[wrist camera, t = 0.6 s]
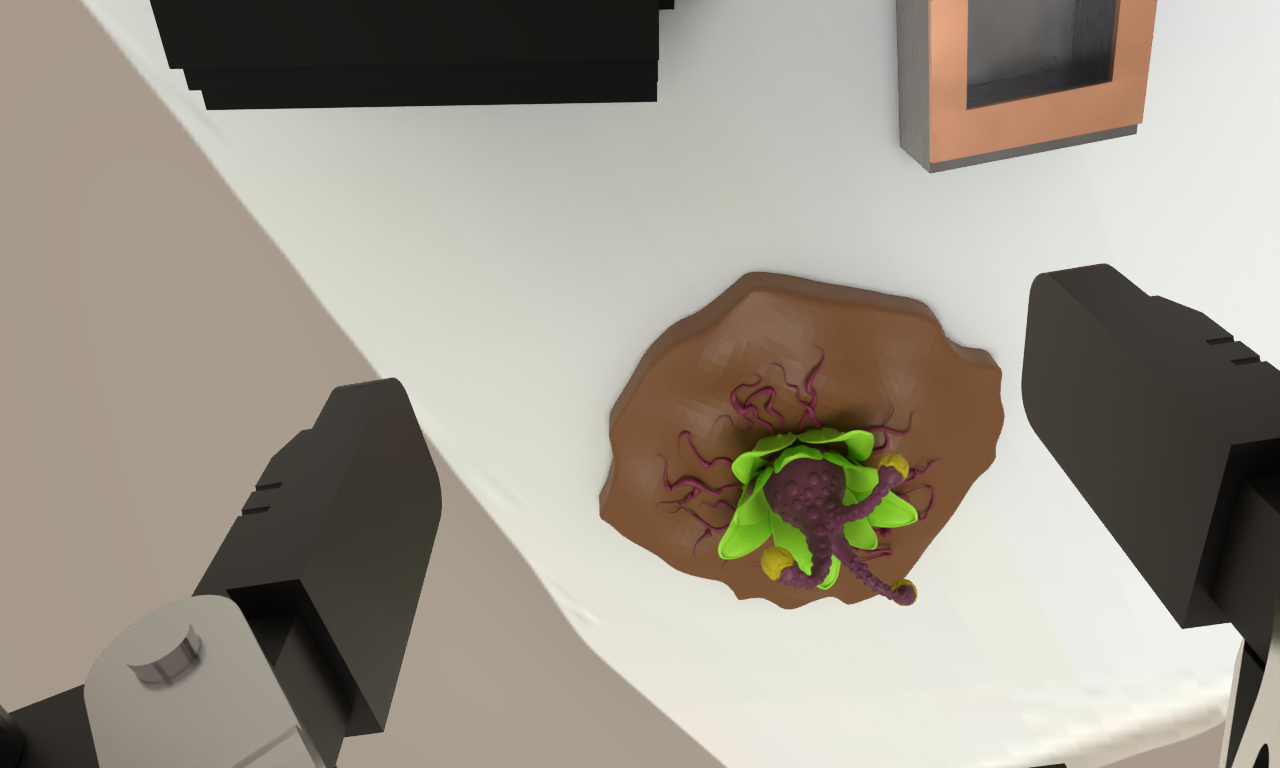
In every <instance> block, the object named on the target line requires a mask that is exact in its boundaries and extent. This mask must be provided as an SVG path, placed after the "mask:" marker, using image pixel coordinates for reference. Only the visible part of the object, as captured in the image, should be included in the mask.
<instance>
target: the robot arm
mask: <svg viewBox="0 0 1280 768" xmlns="http://www.w3.org/2000/svg"><path fill="white" fill-rule="evenodd" d="M1233 337H1234V336H1233V335H1231V334H1230V333H1229V332H1227V331H1226V330H1225V329H1223V328H1222V327H1221V326H1219V325H1218V324H1217V323H1215V322H1214V321H1213V320H1211V319H1210V318H1209V317H1207V316H1206V315H1205V314H1203V313H1202V312H1199V311H1197V310H1194V309H1192V308H1189V307H1186V306H1184V305H1181V304H1179V303H1176V302H1173V301H1171V300H1168V299H1166V298H1163V297H1160V296H1158V295H1157V296H1151V297H1150V296H1148V295H1147V294H1146V293H1145V292H1143V291H1142V290H1141V289H1140V288H1138V287H1137V286H1136V285H1135V284H1133V283H1132V282H1131V281H1130V280H1128V279H1127V278H1126V277H1125V276H1123V275H1122V274H1121V273H1120V272H1118V271H1117V270H1116V269H1115V268H1113V267H1112V266H1110V265H1108V264H1096V265H1090V266H1084V267H1078V268H1072V269H1066V270H1059V271H1053V272H1047V273H1041V274H1039V275H1038V276H1037V277H1036V278H1035V279H1034V281H1033V283H1032V285H1031V289H1030V295H1029V305H1028V316H1027V327H1026V338H1025V348H1024V359H1023V370H1022V382H1021V388H1022V399H1023V404H1024V408H1025V412H1026V415H1027V418H1028V420H1029V423H1030V425H1031V427H1032V429H1033V430H1034V432H1035V433H1036V434H1037V436H1038V437H1039V438H1040V440H1041V441H1042V442H1043V444H1044V445H1045V446H1046V448H1047V449H1048V450H1049V452H1050V453H1051V454H1052V456H1053V457H1054V458H1055V460H1056V461H1057V462H1058V464H1059V465H1060V466H1061V468H1062V469H1063V470H1064V472H1065V473H1066V474H1067V476H1068V477H1069V478H1070V480H1071V481H1072V482H1073V484H1074V485H1075V487H1076V488H1077V489H1078V491H1079V492H1080V493H1081V495H1082V496H1083V497H1084V499H1085V500H1086V501H1087V503H1088V504H1089V505H1090V507H1091V508H1092V509H1093V511H1094V512H1095V513H1096V515H1097V516H1098V517H1099V519H1100V520H1101V521H1102V523H1103V524H1104V525H1105V527H1106V528H1107V529H1108V531H1109V532H1110V533H1111V535H1112V536H1113V537H1114V539H1115V540H1116V541H1117V543H1118V544H1119V545H1120V547H1121V548H1122V549H1123V551H1124V552H1125V553H1126V555H1127V556H1128V557H1129V559H1130V560H1131V561H1132V563H1133V564H1134V565H1135V567H1136V568H1137V569H1138V571H1139V572H1140V573H1141V575H1142V576H1143V577H1144V579H1145V580H1146V581H1147V583H1148V584H1149V585H1150V587H1151V588H1152V589H1153V591H1154V592H1155V593H1156V595H1157V596H1158V597H1159V599H1160V600H1161V601H1162V603H1163V604H1164V606H1165V607H1166V608H1167V610H1168V611H1169V612H1170V614H1171V615H1172V616H1173V618H1174V619H1175V620H1176V622H1177V623H1178V624H1179V626H1180V627H1181V628H1182V629H1185V628H1193V627H1200V626H1208V625H1215V624H1223V623H1230V622H1231V623H1232V624H1233V626H1234V627H1235V628H1236V629H1237V630H1238V632H1239V633H1240V634H1241V635H1242V637H1243V639H1242V642H1241V645H1240V648H1239V651H1238V655H1237V658H1236V661H1235V667H1234V674H1233V680H1232V687H1231V693H1230V699H1229V706H1228V712H1227V718H1226V725H1225V731H1224V738H1223V744H1222V750H1221V757H1220V763H1219V768H1280V371H1279V370H1278V369H1276V368H1275V367H1274V366H1272V365H1271V364H1270V363H1268V362H1267V361H1264V362H1261V361H1260V356H1259V355H1258V354H1257V353H1255V352H1254V351H1253V350H1251V349H1250V348H1249V347H1247V346H1246V345H1245V344H1243V343H1242V342H1241V341H1236V342H1235V341H1234V339H1233ZM255 487H256V492H252V493H251V495H250V497H249V498H248V500H247V502H246V503H245V505H244V507H243V508H242V516H238V517H237V519H236V521H235V522H234V524H233V526H232V527H231V529H230V531H229V533H228V534H227V536H226V538H225V540H224V541H223V543H222V545H221V546H220V548H219V550H218V552H217V553H216V555H215V557H214V559H213V560H212V562H211V564H210V566H209V567H208V569H207V571H206V572H205V574H204V576H203V578H202V579H201V581H200V583H199V584H198V586H197V588H196V590H195V591H194V593H193V595H192V596H191V597H188V598H185V599H182V600H178V601H175V602H173V603H170V604H168V605H165V606H163V607H161V608H159V609H157V610H155V611H153V612H151V613H149V614H148V615H146V616H144V617H142V618H141V619H139V620H138V621H136V622H135V623H134V624H132V625H131V626H129V627H128V628H127V629H126V630H124V631H123V632H122V633H121V634H120V635H118V636H117V637H116V638H115V639H114V640H113V641H112V642H111V643H110V644H109V645H108V646H107V647H106V648H105V649H104V651H103V652H102V653H101V654H100V656H99V657H98V658H97V659H96V661H95V663H94V664H93V666H92V668H91V669H90V671H89V674H88V676H87V679H86V681H85V684H83V685H81V686H78V687H75V688H73V689H70V690H68V691H65V692H62V693H60V694H57V695H55V696H52V697H49V698H47V699H44V700H42V701H39V702H37V703H34V704H31V705H29V706H26V707H24V708H21V709H18V710H16V711H13V712H11V713H7V712H6V711H5V710H4V709H3V707H1V705H0V768H338V767H337V765H336V762H337V758H338V755H339V752H340V748H341V745H342V742H343V739H344V737H350V736H358V735H365V734H373V733H380V732H384V728H385V724H386V721H387V717H388V713H389V709H390V706H391V702H392V698H393V695H394V691H395V687H396V683H397V679H398V676H399V672H400V668H401V665H402V660H403V657H404V653H405V650H406V646H407V642H408V638H409V635H410V631H411V627H412V623H413V619H414V616H415V612H416V608H417V604H418V600H419V597H420V593H421V589H422V586H423V582H424V578H425V574H426V571H427V567H428V563H429V559H430V555H431V552H432V548H433V544H434V540H435V537H436V533H437V529H438V526H439V522H440V517H441V510H442V497H441V488H440V482H439V478H438V474H437V471H436V468H435V465H434V463H433V460H432V458H431V455H430V452H429V450H428V447H427V444H426V442H425V439H424V437H423V434H422V431H421V429H420V426H419V424H418V421H417V418H416V416H415V413H414V411H413V408H412V405H411V403H410V400H409V398H408V395H407V393H406V390H405V389H404V387H403V385H402V384H401V382H400V381H399V380H398V379H396V378H387V379H381V380H375V381H369V382H362V383H356V384H350V385H344V386H339V387H336V388H335V389H334V390H333V391H332V393H331V394H330V397H329V398H328V400H327V402H326V404H325V406H324V408H323V409H322V412H321V413H320V415H319V417H318V419H317V420H316V422H315V424H314V426H313V428H312V429H308V430H302V431H301V432H300V433H298V434H297V435H296V436H295V437H294V438H293V439H292V440H291V441H290V442H289V443H287V444H286V445H285V446H284V447H283V448H282V449H281V450H280V451H279V452H278V453H277V454H275V455H274V456H273V457H272V458H271V460H270V462H269V464H268V465H267V467H266V469H265V470H264V472H263V474H262V476H261V477H260V479H259V481H258V483H257V484H256V486H255ZM1031 768H1067V767H1066V765H1065V763H1063V764H1055V765H1047V766H1039V767H1031Z"/></svg>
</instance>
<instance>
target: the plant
mask: <svg viewBox="0 0 1280 768" xmlns="http://www.w3.org/2000/svg"><path fill="white" fill-rule="evenodd" d="M1001 379H1002V371H1001V368H1000V367H999V366H998V365H997V363H996V362H995V361H994V359H993V358H992V357H991V355H990V354H989V353H988V352H987V351H985V350H982V349H974V348H967V347H963V346H960V345H958V344H956V343H954V342H952V341H950V340H949V339H948V338H947V337H946V336H945V334H944V331H943V329H942V326H941V324H940V322H939V321H938V319H937V318H936V317H935V315H934V314H933V313H932V311H931V310H930V308H929V307H928V306H927V305H925V304H924V303H922V302H919V301H917V300H914V299H911V298H907V297H900V296H893V295H887V294H882V293H878V292H873V291H868V290H862V289H856V288H850V287H844V286H838V285H831V284H825V283H820V282H815V281H811V280H807V279H803V278H798V277H793V276H788V275H782V274H774V273H766V272H752V273H747V274H745V275H743V276H742V277H741V278H740V279H739V280H738V281H736V282H735V283H734V284H733V285H732V286H730V287H729V288H728V289H727V290H726V291H724V292H723V293H722V294H721V295H720V296H719V297H717V298H716V299H715V300H714V301H712V302H711V303H710V304H709V305H707V306H706V307H705V308H703V309H702V310H700V311H699V312H697V313H695V314H693V315H691V316H688V317H686V318H684V319H682V320H680V321H678V322H676V323H675V324H673V325H672V326H671V327H669V328H668V329H667V330H666V331H665V332H664V333H663V334H662V335H661V336H660V337H659V338H658V339H657V340H656V341H655V342H654V343H653V344H652V345H651V346H650V347H649V349H648V350H647V351H646V353H645V354H644V356H643V357H642V359H641V361H640V363H639V364H638V366H637V368H636V370H635V372H634V373H633V375H632V377H631V379H630V380H629V382H628V384H627V385H626V387H625V388H624V390H623V392H622V393H621V395H620V396H619V398H618V400H617V401H616V403H615V405H614V407H613V409H612V411H611V414H610V426H609V438H610V442H611V447H612V452H613V460H612V464H611V467H610V471H609V475H608V478H607V481H606V483H605V485H604V487H603V489H602V491H601V493H600V495H599V503H600V517H601V519H602V520H604V521H605V522H607V523H608V524H610V525H611V526H612V527H614V528H615V529H616V530H617V531H618V532H619V533H620V534H621V535H623V536H624V537H626V538H627V539H629V540H631V541H632V542H634V543H635V544H637V545H639V546H641V547H643V548H645V549H647V550H649V551H650V552H652V553H654V554H655V555H657V556H659V557H660V558H661V559H662V560H664V561H665V562H666V563H667V564H669V565H670V566H671V567H673V568H675V569H676V570H678V571H681V572H683V573H686V574H689V575H693V576H697V577H701V578H706V579H711V580H717V581H720V582H723V583H725V584H726V585H728V586H729V587H730V588H731V589H732V590H733V592H734V593H735V595H736V597H737V598H738V599H739V600H744V599H749V598H764V599H766V600H769V601H771V602H773V603H775V604H776V605H778V606H779V607H781V608H784V609H795V608H798V607H801V606H803V605H806V604H808V603H810V602H813V601H816V600H819V599H822V598H825V597H835V598H838V599H839V600H841V601H842V602H844V603H846V604H848V605H849V604H854V603H857V602H860V601H863V600H866V599H869V598H872V597H874V596H876V595H878V594H880V595H882V596H886V597H887V598H888V599H889V600H894V602H896V603H897V604H899V605H900V606H907V605H911V604H913V603H914V601H915V602H916V598H917V589H916V587H915V585H914V584H913V583H912V582H911V581H909V580H907V579H903V578H905V577H906V575H907V574H908V573H909V572H910V570H911V569H912V568H913V566H914V565H915V564H916V562H917V561H918V560H919V558H920V557H921V555H922V554H923V552H924V551H925V550H926V548H927V547H928V545H929V544H930V543H931V542H932V540H933V539H934V538H935V537H936V535H937V534H938V533H939V532H940V531H941V530H942V528H943V527H944V526H945V525H946V523H947V522H948V521H949V519H950V518H951V517H952V515H953V514H954V512H955V511H956V509H957V508H958V506H959V505H960V503H961V502H962V500H963V498H964V497H965V495H966V493H967V492H968V490H969V489H970V487H971V486H972V484H973V483H974V482H975V481H976V480H977V478H978V477H979V476H980V475H981V474H983V473H984V472H985V471H986V470H987V469H988V468H989V467H990V466H991V464H992V463H993V462H994V460H995V458H996V444H997V441H998V438H999V436H1000V434H1001V430H1002V427H1003V422H1004V410H1003V406H1002V403H1001V396H1000V391H1001Z"/></svg>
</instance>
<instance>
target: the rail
mask: <svg viewBox="0 0 1280 768" xmlns="http://www.w3.org/2000/svg"><path fill="white" fill-rule="evenodd" d="M896 5H897V41H898V78H899V114H900V147H901V148H903V149H904V150H905V151H906V152H907V153H908V154H909V155H910V156H911V157H912V158H913V159H915V160H916V161H917V162H918V163H919V164H920V165H921V166H922V167H923V168H924V169H925V170H927V171H928V172H929V173H935V172H940V171H945V170H951V169H956V168H961V167H966V166H971V165H977V164H982V163H987V162H992V161H998V160H1003V159H1008V158H1013V157H1018V156H1024V155H1029V154H1034V153H1039V152H1045V151H1050V150H1055V149H1060V148H1065V147H1071V146H1076V145H1081V144H1086V143H1092V142H1097V141H1102V140H1107V139H1112V138H1118V137H1123V136H1128V135H1133V134H1136V133H1137V124H1140V123H1142V120H1143V112H1144V104H1145V96H1146V87H1147V79H1148V71H1149V63H1150V55H1151V47H1152V39H1153V31H1154V23H1155V14H1156V6H1157V0H896Z"/></svg>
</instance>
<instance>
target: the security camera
mask: <svg viewBox="0 0 1280 768" xmlns="http://www.w3.org/2000/svg"><path fill="white" fill-rule="evenodd" d="M150 3H151V6H152V10H153V13H154V17H155V20H156V23H157V27H158V30H159V34H160V37H161V40H162V44H163V47H164V51H165V54H166V57H167V61H168V64H169V68H170V69H183V71H184V74H185V78H186V81H187V85H188V88H189V90H201V91H202V95H203V98H204V102H205V106H206V109H207V110H236V109H290V108H344V107H398V106H453V105H507V104H561V103H615V102H657V82H658V60H659V10H665V9H674V0H150Z"/></svg>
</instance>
